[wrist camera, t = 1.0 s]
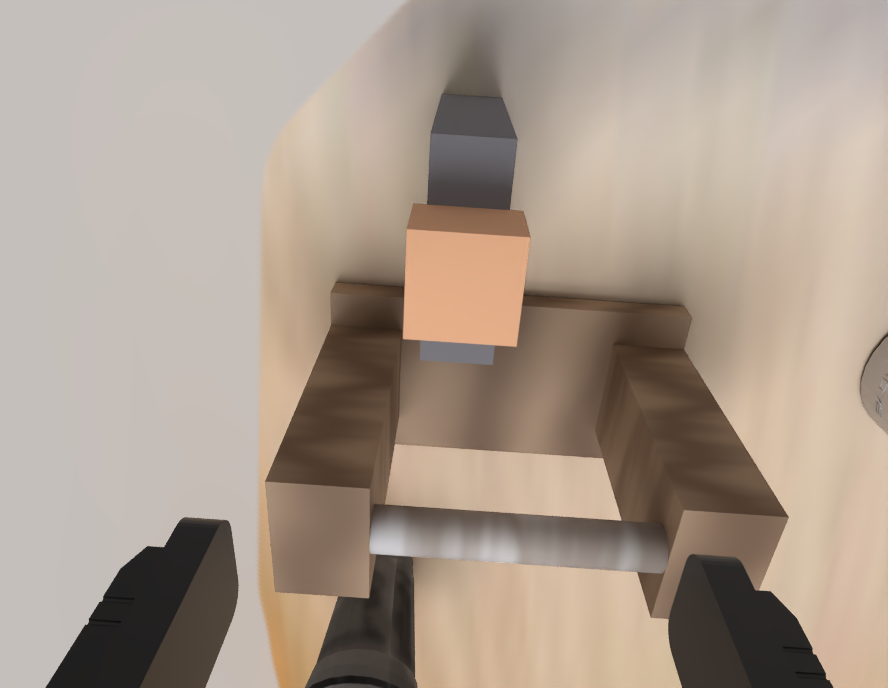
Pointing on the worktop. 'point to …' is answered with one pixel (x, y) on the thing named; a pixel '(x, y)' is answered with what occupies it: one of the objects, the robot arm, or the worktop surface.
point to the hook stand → (515, 448)
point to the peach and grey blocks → (466, 238)
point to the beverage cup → (372, 633)
